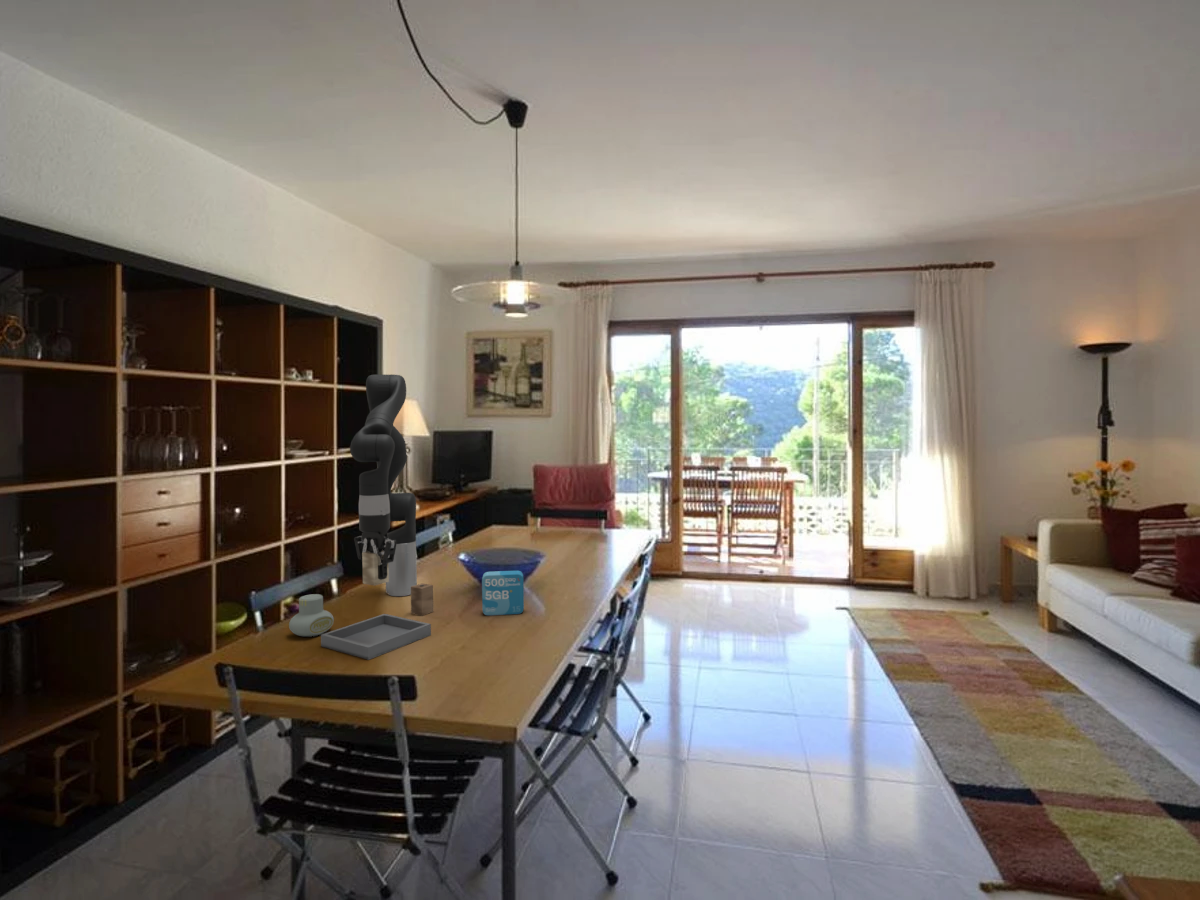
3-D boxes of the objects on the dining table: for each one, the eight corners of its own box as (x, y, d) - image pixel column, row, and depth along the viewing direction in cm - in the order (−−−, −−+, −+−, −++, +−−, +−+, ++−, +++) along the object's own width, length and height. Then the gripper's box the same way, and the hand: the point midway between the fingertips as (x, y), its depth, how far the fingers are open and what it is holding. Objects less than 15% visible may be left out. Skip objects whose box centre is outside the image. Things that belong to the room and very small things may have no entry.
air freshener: (302, 642, 162) (301, 604, 162) (283, 636, 167) (282, 599, 166) (339, 630, 172) (338, 594, 171) (320, 625, 176) (319, 590, 176)
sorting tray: (321, 646, 159) (320, 634, 159) (384, 624, 176) (384, 613, 176) (368, 659, 150) (368, 647, 150) (430, 635, 167) (430, 624, 167)
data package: (482, 616, 183) (481, 575, 183) (483, 611, 188) (482, 571, 187) (523, 614, 185) (523, 573, 185) (523, 609, 190) (523, 570, 189)
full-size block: (411, 613, 186) (410, 586, 186) (422, 609, 190) (422, 582, 190) (422, 615, 184) (421, 588, 184) (433, 611, 188) (432, 584, 187)
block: (362, 583, 162) (362, 552, 161) (377, 579, 166) (376, 548, 165) (374, 585, 159) (373, 553, 159) (388, 581, 163) (388, 550, 163)
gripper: (343, 511, 162) (345, 577, 163) (381, 515, 155) (382, 584, 156) (368, 508, 169) (369, 571, 169) (405, 512, 161) (406, 577, 162)
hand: (375, 577), depth 162 cm, fingers closed on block, 4 cm apart
